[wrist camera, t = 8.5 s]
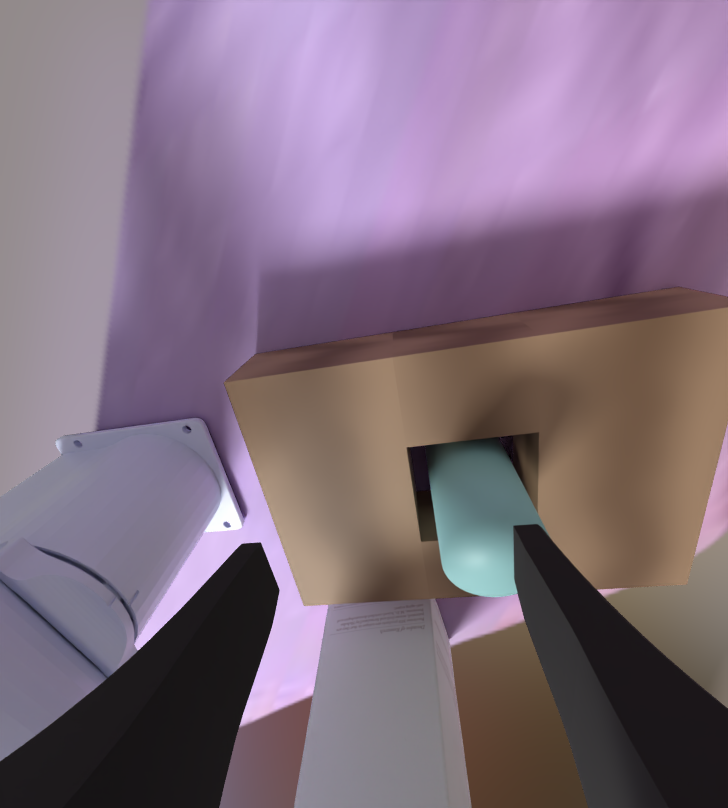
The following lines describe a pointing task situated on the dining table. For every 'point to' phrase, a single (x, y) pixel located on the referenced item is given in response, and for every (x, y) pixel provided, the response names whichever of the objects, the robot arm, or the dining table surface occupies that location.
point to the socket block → (495, 417)
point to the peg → (478, 513)
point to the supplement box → (384, 712)
